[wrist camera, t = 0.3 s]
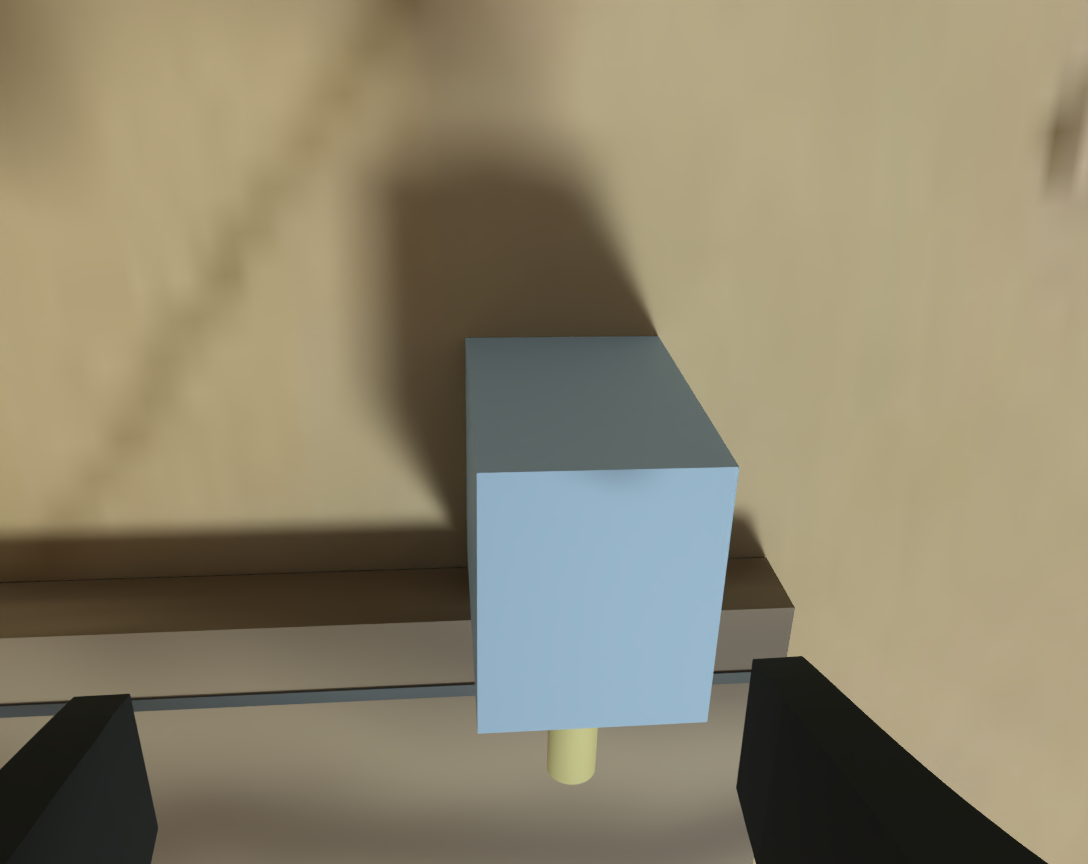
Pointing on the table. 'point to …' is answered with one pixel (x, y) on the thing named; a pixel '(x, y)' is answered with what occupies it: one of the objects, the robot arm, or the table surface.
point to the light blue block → (591, 540)
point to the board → (370, 722)
